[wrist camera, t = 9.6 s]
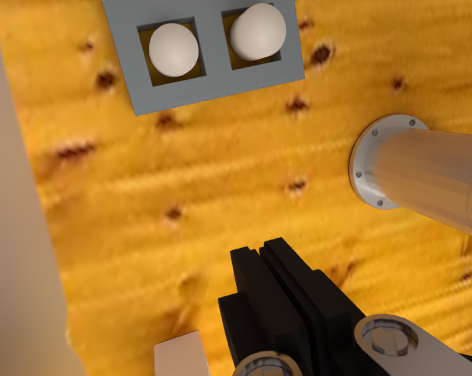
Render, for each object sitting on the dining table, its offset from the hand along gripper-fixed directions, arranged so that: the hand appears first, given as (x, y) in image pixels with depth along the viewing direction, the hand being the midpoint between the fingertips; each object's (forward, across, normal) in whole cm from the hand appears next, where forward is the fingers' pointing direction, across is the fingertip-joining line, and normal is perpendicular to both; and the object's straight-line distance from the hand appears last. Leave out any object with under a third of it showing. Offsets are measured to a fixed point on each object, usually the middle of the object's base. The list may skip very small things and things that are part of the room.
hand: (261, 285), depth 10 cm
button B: (+26, -9, -10) cm, 30 cm away
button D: (+28, -1, -10) cm, 30 cm away
